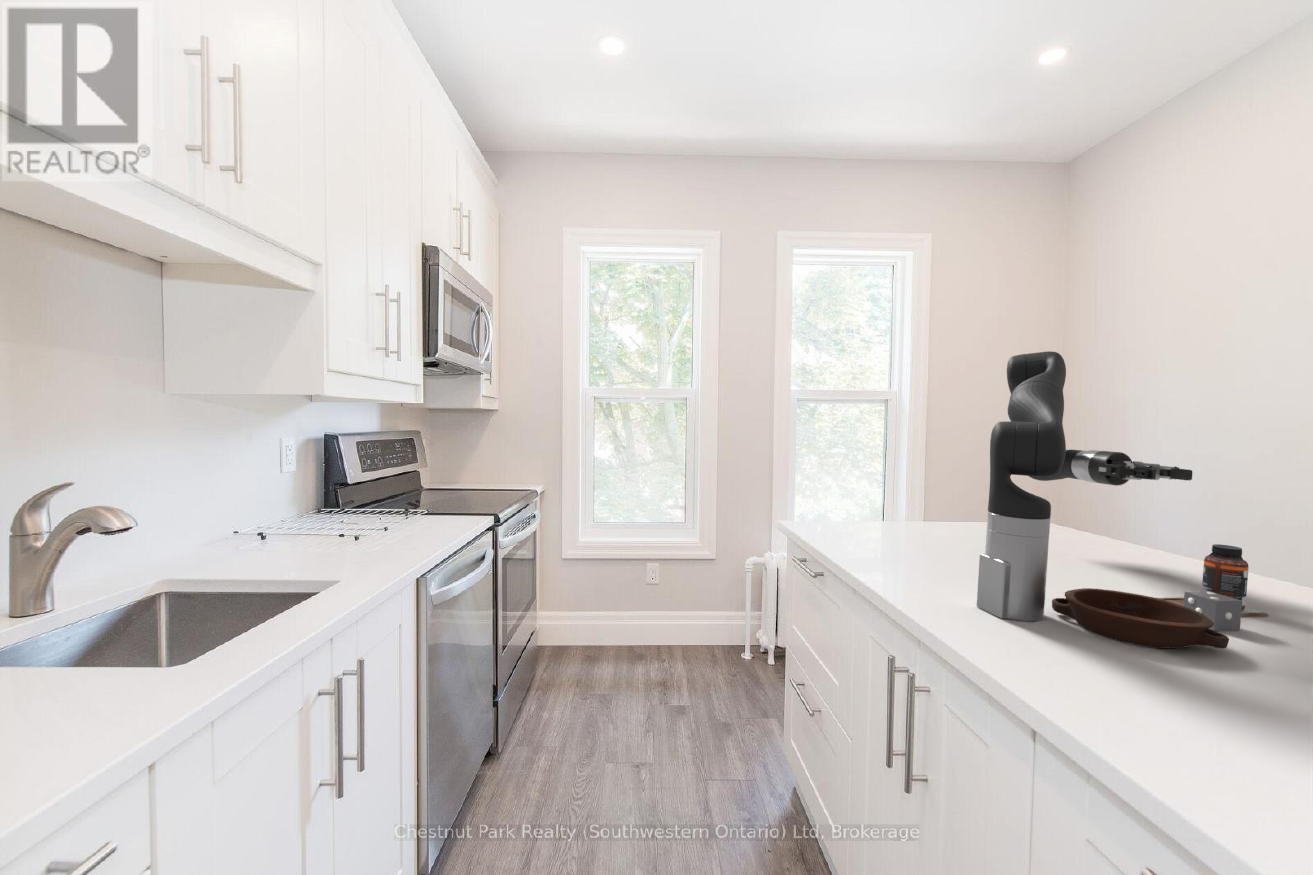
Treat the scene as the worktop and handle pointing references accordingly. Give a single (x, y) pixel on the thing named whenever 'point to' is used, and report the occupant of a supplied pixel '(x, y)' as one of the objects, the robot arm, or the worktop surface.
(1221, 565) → the supplement bottle
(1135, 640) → the dish
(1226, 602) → the die
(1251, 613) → the board
